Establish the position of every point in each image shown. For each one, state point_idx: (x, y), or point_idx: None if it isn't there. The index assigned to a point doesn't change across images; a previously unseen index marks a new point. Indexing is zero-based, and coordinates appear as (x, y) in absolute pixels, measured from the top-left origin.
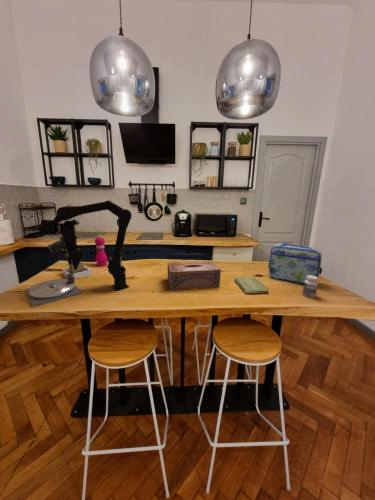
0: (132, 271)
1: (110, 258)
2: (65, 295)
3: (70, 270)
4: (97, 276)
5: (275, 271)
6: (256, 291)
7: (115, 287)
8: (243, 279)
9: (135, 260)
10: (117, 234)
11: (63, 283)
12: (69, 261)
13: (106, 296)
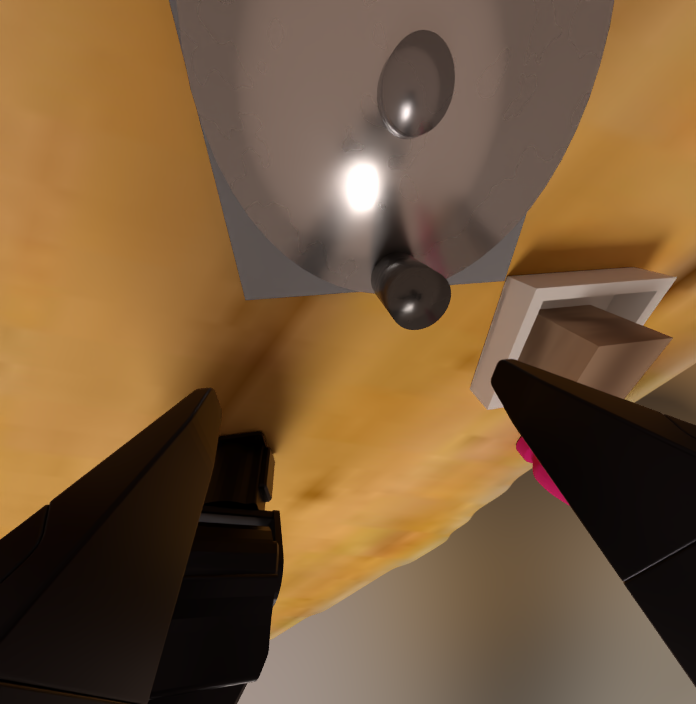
0: (375, 502)
1: (197, 687)
2: (223, 177)
3: (601, 317)
4: (432, 404)
5: None
6: None
7: (223, 443)
8: None
9: (467, 519)
10: None
11: (407, 213)
12: (533, 399)
13: (139, 392)
